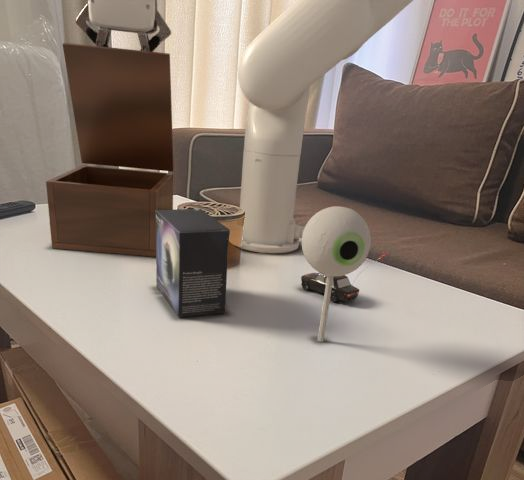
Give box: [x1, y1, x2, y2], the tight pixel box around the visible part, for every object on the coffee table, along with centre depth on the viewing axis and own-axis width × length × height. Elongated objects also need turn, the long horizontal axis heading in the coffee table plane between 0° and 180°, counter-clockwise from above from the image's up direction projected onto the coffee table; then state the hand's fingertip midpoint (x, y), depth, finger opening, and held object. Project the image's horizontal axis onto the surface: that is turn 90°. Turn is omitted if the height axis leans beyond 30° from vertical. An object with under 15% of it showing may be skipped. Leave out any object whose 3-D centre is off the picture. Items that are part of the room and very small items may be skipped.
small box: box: [155, 208, 231, 318], centre depth 64 cm, size 11×6×10 cm, turn 25°
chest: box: [45, 164, 174, 258], centre depth 87 cm, size 18×16×10 cm
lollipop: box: [301, 205, 372, 343], centre depth 56 cm, size 7×7×15 cm
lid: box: [62, 42, 175, 173], centre depth 88 cm, size 19×16×5 cm
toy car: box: [300, 253, 387, 303], centre depth 71 cm, size 4×12×8 cm, turn 43°
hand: (125, 78), depth 86 cm, fingers closed on lid, 5 cm apart
